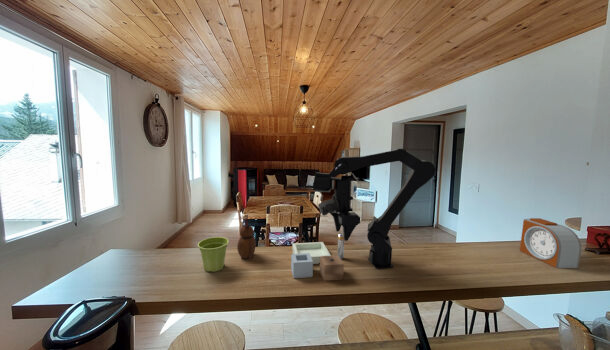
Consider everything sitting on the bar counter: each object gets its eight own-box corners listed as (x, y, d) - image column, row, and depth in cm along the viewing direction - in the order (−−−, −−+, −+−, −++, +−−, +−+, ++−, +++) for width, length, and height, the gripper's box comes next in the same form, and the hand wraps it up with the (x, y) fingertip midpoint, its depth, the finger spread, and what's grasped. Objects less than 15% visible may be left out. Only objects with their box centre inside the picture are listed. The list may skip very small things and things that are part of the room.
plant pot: (234, 267, 79) (234, 242, 78) (206, 278, 73) (205, 251, 72) (220, 258, 86) (220, 234, 85) (193, 267, 79) (192, 242, 78)
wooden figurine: (250, 261, 84) (250, 219, 82) (235, 259, 85) (234, 218, 83) (258, 252, 90) (257, 214, 89) (243, 251, 92) (243, 213, 90)
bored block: (309, 267, 80) (309, 252, 80) (312, 276, 75) (312, 261, 74) (291, 268, 79) (291, 254, 79) (293, 278, 74) (293, 262, 73)
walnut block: (337, 269, 79) (337, 254, 79) (343, 279, 74) (343, 263, 73) (319, 270, 78) (319, 256, 78) (324, 281, 73) (324, 265, 72)
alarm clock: (516, 249, 97) (520, 216, 96) (536, 249, 98) (541, 217, 96) (555, 268, 83) (560, 229, 81) (578, 268, 83) (585, 230, 81)
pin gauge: (342, 256, 89) (343, 232, 88) (344, 259, 86) (345, 235, 85) (336, 256, 88) (337, 233, 87) (338, 259, 86) (339, 235, 85)
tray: (322, 248, 95) (322, 242, 95) (330, 262, 84) (330, 255, 83) (292, 250, 93) (292, 243, 93) (296, 265, 82) (296, 257, 81)
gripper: (314, 188, 92) (314, 228, 94) (327, 199, 74) (326, 247, 76) (342, 188, 94) (341, 226, 96) (361, 198, 76) (359, 245, 78)
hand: (341, 235), depth 86 cm, fingers open, 9 cm apart
